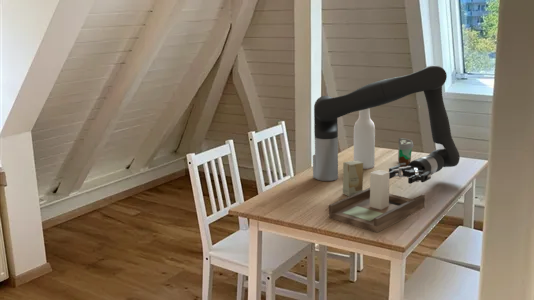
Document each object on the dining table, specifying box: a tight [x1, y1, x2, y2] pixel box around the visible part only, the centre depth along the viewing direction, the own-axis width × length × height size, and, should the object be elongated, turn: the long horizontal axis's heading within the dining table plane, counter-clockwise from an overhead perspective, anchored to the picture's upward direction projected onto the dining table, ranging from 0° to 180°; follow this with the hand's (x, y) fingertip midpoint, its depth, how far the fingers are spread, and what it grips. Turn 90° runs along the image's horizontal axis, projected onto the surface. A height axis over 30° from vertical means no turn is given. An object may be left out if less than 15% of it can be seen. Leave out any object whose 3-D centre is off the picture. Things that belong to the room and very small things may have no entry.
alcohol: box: [353, 108, 376, 170], centre depth 239 cm, size 9×9×30 cm
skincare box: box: [342, 160, 364, 197], centre depth 208 cm, size 6×4×12 cm
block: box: [369, 169, 390, 210], centre depth 189 cm, size 4×4×12 cm
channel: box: [328, 187, 426, 233], centre depth 190 cm, size 19×28×4 cm
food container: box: [397, 137, 414, 167], centre depth 243 cm, size 12×6×10 cm, turn 168°
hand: (398, 178), depth 196 cm, fingers open, 8 cm apart
